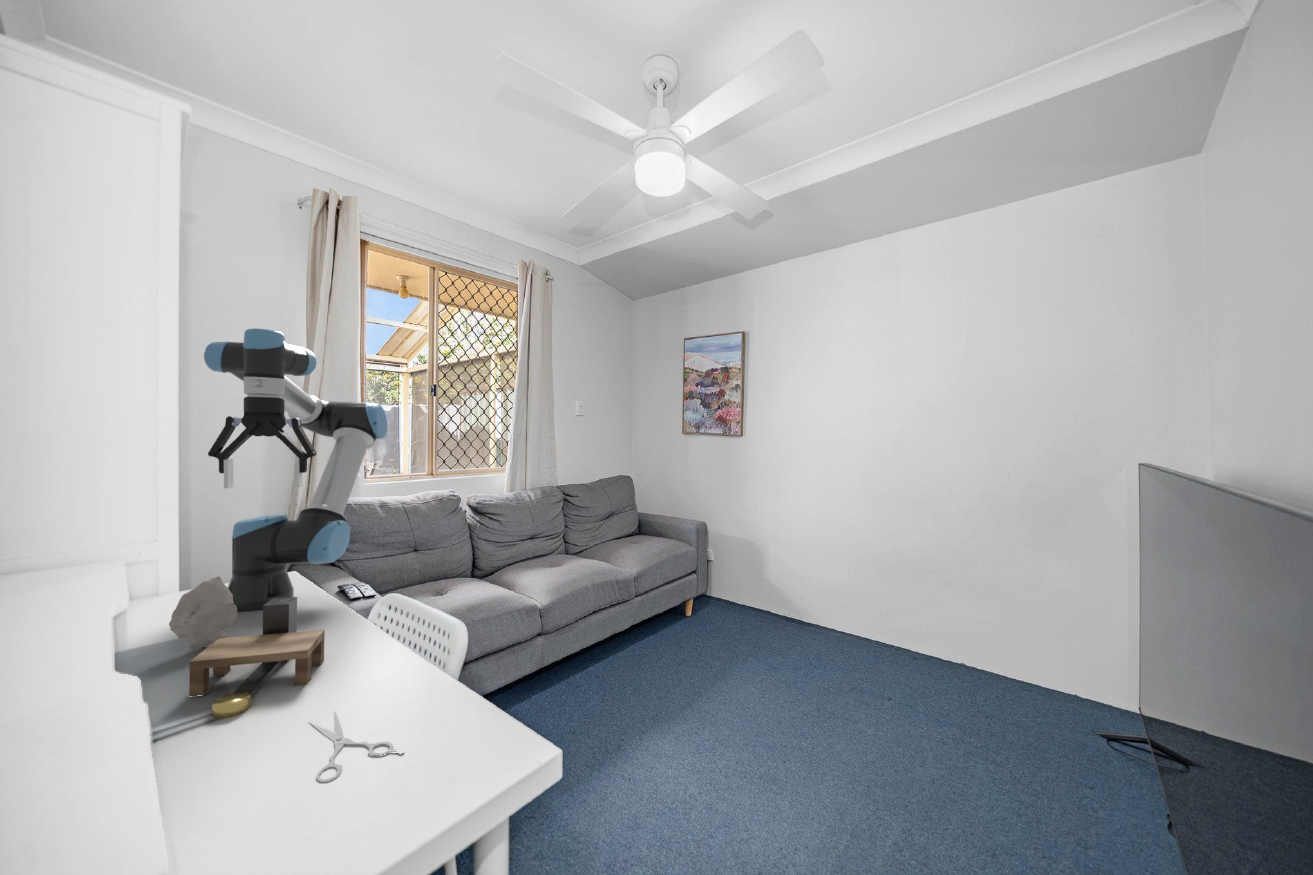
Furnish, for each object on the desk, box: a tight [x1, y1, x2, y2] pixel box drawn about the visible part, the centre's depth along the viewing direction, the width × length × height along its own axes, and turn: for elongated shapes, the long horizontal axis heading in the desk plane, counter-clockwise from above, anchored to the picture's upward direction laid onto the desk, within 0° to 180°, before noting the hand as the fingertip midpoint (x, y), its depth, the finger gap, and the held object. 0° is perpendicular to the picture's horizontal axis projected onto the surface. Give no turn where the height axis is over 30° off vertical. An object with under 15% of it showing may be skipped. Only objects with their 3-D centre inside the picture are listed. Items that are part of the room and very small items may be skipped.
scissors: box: [308, 711, 397, 784], centre depth 78 cm, size 11×1×20 cm
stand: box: [188, 629, 325, 697], centre depth 96 cm, size 10×18×6 cm, turn 108°
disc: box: [211, 692, 252, 720], centre depth 85 cm, size 5×5×2 cm
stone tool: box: [168, 576, 238, 650], centre depth 108 cm, size 11×4×15 cm, turn 132°
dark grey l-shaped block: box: [231, 596, 298, 701], centre depth 97 cm, size 20×4×12 cm, turn 18°
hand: (264, 487), depth 117 cm, fingers open, 13 cm apart
